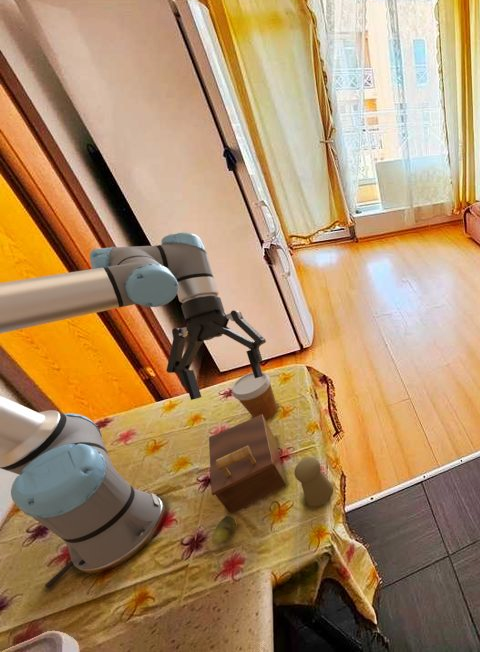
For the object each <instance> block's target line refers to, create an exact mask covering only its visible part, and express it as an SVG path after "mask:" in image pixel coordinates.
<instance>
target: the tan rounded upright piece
mask: <svg viewBox="0 0 480 652" xmlns="http://www.w3.org/2000/svg"><path fill="white" fill-rule="evenodd" d="M321 469H322V467H321V462H320V461H319V459H317V458H316V457H314V456H307V457H303V458H302V459H301V460H300V461H299V462H297V464H296V465H295V467H294V477H295V479H296V480H297V481H299V482H300V484H301V487H302V491H303V495H304V498H305V502H306V503H307V505H309V506H310V507H319V506H320V507H321V506H322V505H324V504H325V503H327V502H328V501H329V500H330V499H331V497H332V495H333V492H334V485H333V484H332V483H331V481H330V480H329V479H328V478H327V476H326V475H325V473H324V472H323V471H322V470H321Z"/></svg>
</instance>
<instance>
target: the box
mask: <svg viewBox="0 0 480 652" xmlns="http://www.w3.org/2000/svg"><path fill="white" fill-rule="evenodd" d="M264 421H265V426H266V431H267V436H268V440H269V445H270V450H271V454H272V459H273V464H274V466H272V467H270V468H268V469H266V470H264V471H262V472H260V473H258V474H256V475H254V476H252V477H250V478H248V479H246V480H244V481H242V482H240V483H238V484H236V485H234V486H232V487H230V488H228V489H226V490H224V491H222V492H220V493H218V494H216V495H215V497H216V498H217V500H218V501H219V502H220V503H221V505H222V506H223V507H224V509H225V510H226V511H227V512H228V514H229V515H233V514H235V513H237V512H238V511H240V510H242V509H245V508H246V507H248V506H250V505H252V504H254V503H255V502H257V501H259V500H261V499H264V498H265V497H268V496H269V495H270V494H273V493H274V492H277V491H278V490H280V489H282V488H284V487H285V486H287V481H286V478H285V473H284V469H283V465H282V461H281V456H280V452H279V447H278V444H277V439H276V436H275V435H274V433H273V431H272V429H271V427H270V426H269V424H268V422H267V419H266V420H265V418H264Z"/></svg>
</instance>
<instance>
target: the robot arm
mask: <svg viewBox="0 0 480 652" xmlns="http://www.w3.org/2000/svg"><path fill="white" fill-rule="evenodd" d="M89 263H90V266H91V268H90V269H84V270H83V269H82V270H76V271H70V272H63V273H57V274H50V275H44V276H37V277H30V278H25V279H17V280H11V281H5V282H0V334H5V333H10V332H14V331H18V330H23V329H27V328H32V327H37V326H41V325H46V324H51V323H54V322H55V323H56V322H59V321H64V320H69V319H74V318H78V317H83V316H87V315H91V314H92V315H93V314H97V313H101V312H105V311H109V310H114V309H120V308H124V307H128V306H133V305H139V306H141V307H142V306H143V307H147V308H159V307H163V306H166V305H167V304H169V303H170V302H172V301H173V300H174V299H175V298H176V296H177V297H178V301H179V302H180V303H181V306H180V307H181V311H182V314H183V316H184V320H185V322H186V326H184V327H174V328H172V330H171V332H172V333H171V334H172V343H171V348H170V353H169V357H168V360H167V361H168V362H167V366H166V372H167V373H168V374H170V373H172V374H173V373H174V374H175V373H176V374H177V375H178V377H179V381H180V383H181V386H182V387H184V388H185V387H186V388H187V392H188V396H189V398H190V401H193V400H197V399H200V398H202V394H201V391H200V387H199V384H198V381H197V377H196V375H195V372H194V369H190V368H191V366H192V364H193V362H194V359H195V357H196V355H197V353H198V352H199V350H200V347H201V346H202V345H203V344H204V341H210V340H212V339H214V338H219V337H222V336H223V335H224V336H227V337H228V338H230V339H232V340H233V341H235V342H237V343H239V344H240V345H243V346H244V347H246V348H248V350H246V351H245V352H246V354H247V358H248V361H249V365H250V367H251V370H252V371H251V372H253V374H254V377H255V378H258V377H262V376H263V374H262V372H263V371H262V368H261V365H260V363H261V362H263V356H262V354H261V351H260V347H261V346H262V345H264V344H265V343H267V340H266V338H264V337H263V335H261V333H259V332H258V331H257V330H256V329H255V328H254V327H253V326H252V324H250V323H249V322H248V321H246V320H245V318H244V316H243V314H242V312H241V311H240V310H234V309H233V310H231V311H230V312H229V313H227V314H226V313H225V308H224V305H223V301H222V299H221V297H220V296H219V289H218V286H217V283H216V280H215V278H214V275H213V271H212V268H211V265H210V260H209V258H208V252H207V250H206V247H205V245H204V243H203V240H202V239H201V237H199V236H198V235H197V234H195V233H191V232H177V233H170V234H168V235H165V236H164V237H162V239H161V244H158V245H157V244H156V245H141V246H139V245H138V246H137V245H136V246H135V245H134V246H110V247H101V248H94V249H92V250H90V253H89ZM229 321H231V322H234V323H235V324H236V325H237V326H238V327H239V328H240V329H241V330H243V332H245V334H247V335H248V336H249V337H250V338H251V339H250V338H248V337H246V336H245V335H242V334H241V333H239V332H237V331H235V330H234V329H232V328H231V327H229V326H228V324H229ZM188 333H189V334H190V335H191V336H190V338H189V340H188V345H187V346H186V349H185V345H186V340H187V336H188V335H189V334H188ZM184 349H185V351H184ZM0 469H1V470H4V471H8V472H9V473H14V474H16V475H17V476H16V477H15V478H14V481H13V483H12V485H11V488H10V497H11V500H12V501H13V503H14V504H15V506H16V507H17V509H19V511H21V512H23V514H24V515H26V516H28V517H30V518H32V519H34V520H35V521H37V522H38V523H39V524H40V525H42V526H43V527H44V528H46V529H48V530H49V531H51V532H52V533H53V534H54V535H56V536H57V537H59V538H60V539H61V540H63V541H64V542H65V544H66V547H67V550H68V555H69V558H70V561H69V563H67V564H66V565H65V566H64V567H63V568H62V569H61V570H59V572H57V573H56V574H55V575H54V576H53V577H52V578H51V579H50V580H49V581H48V582H46V583H45V585H44V586H45V588H47V589H48V588H51V587H52V586H53V585H54V584H55V583H56V582H57V581H58V580H59V579H60V578H61V577H62V576H63V575H64V574H65V573H66V572H67V571H69V570H70V569H71V568H72V567H73V566H74V567H75V568H77V569H78V570H79V571H81V572H83V573H86V574H99V573H104V572H107V571H109V570H111V569H114V568H117V567H118V566H120V565H122V564H123V563H125V562H127V561H128V560H130V559H131V558H132V557H134V556H135V555H137V553H139V552H140V551H141V550H143V548H144V547H145V546H146V545H148V544H149V543H150V542H151V540H152V539H153V537H154V536H155V535H156V534H157V533H158V531H159V529H160V528H161V526H162V524H163V521H164V519H165V516H166V506H165V503H164V502H163V500H161V498H159V496H157V494H156V493H152V492H146V491H143V490H141V489H137V488H134V487H133V486H132V485H131V484H130V483H129V482H128V481H127V480H126V478H125V477H123V476H122V475H121V474H120V473H119V472H118V471H117V470H116V468H115V467H114V465H113V463H112V460H111V457H110V455H109V452H108V450H107V447H106V445H105V442H104V441H103V436H102V432H101V429H100V428H99V427H98V425H97V424H96V423H95V422H94V421H93V420H91V419H90V418H89V417H87V416H85V415H82V414H78V413H70V412H69V413H68V412H67V413H62V412H60V411H58V410H55V409H48V410H44V411H39V412H38V411H36V410H33V409H31V408H29V407H28V406H26V405H25V406H24V405H22V404H20V403H18V402H16V401H14V400H12V399H10V398H7V397H5V396H2V395H1V394H0Z"/></svg>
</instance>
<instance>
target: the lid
mask: <svg viewBox="0 0 480 652" xmlns="http://www.w3.org/2000/svg"><path fill="white" fill-rule="evenodd" d="M208 447H209V450H208V451H209V472H210V474H209V475H210V493H211V495H212V496H216V494H218V493H220V492H222V491H224V490H226V489H228V488H230V487H232V486H234V485H236V484H238V483H240V482H242V481H244V480H246V479H248V478H250V477H252V476H254V475H256V474H258V473H260V472H262V471H264V470H266V469H268V468H270V467H272V466H274V464H273V459H272V454H271V450H270V445H269V440H268V436H267V431H266V426H265V421H264V417H263V415H262V414H261V415H259V416H256V417H252V418H250V419H247V420H245V421H243V422H241V423H238V424H236V425H234V426H232V427H229V428H227V429H224V430H222V431H220V432H218V433H217V432H216V434H212V435H210V436H209V437H208Z"/></svg>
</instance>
